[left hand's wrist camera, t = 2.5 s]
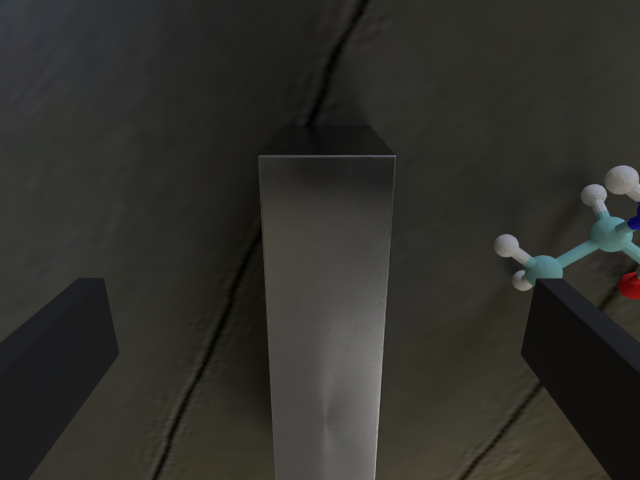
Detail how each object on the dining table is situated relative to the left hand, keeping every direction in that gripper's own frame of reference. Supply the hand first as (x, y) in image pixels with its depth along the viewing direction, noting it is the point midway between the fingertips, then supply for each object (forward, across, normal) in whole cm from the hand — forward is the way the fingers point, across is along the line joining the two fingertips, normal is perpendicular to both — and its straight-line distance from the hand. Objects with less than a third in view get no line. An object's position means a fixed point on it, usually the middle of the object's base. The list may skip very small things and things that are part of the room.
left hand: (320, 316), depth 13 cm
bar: (+12, 0, -7) cm, 15 cm away
